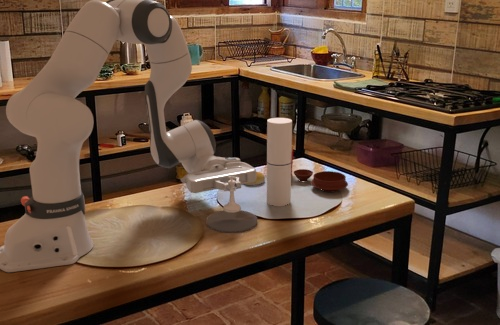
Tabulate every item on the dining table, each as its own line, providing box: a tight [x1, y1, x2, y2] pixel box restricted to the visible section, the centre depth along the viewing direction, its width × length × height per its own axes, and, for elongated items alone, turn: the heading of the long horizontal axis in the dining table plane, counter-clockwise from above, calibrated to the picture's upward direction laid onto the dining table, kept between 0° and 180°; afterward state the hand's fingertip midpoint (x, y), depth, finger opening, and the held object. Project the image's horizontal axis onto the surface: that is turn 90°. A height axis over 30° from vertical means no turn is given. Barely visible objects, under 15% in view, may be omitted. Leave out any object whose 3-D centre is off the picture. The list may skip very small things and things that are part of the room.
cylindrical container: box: [266, 117, 293, 207], centre depth 166 cm, size 7×7×25 cm
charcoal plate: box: [206, 209, 258, 234], centre depth 155 cm, size 14×14×1 cm
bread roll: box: [245, 171, 266, 186], centre depth 187 cm, size 8×9×4 cm
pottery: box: [293, 168, 349, 193], centre depth 183 cm, size 12×20×4 cm, turn 44°
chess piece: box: [222, 174, 242, 212], centre depth 153 cm, size 5×5×10 cm
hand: (233, 187), depth 152 cm, fingers closed on chess piece
